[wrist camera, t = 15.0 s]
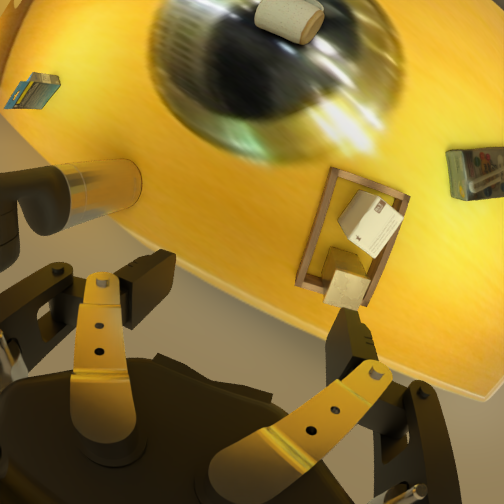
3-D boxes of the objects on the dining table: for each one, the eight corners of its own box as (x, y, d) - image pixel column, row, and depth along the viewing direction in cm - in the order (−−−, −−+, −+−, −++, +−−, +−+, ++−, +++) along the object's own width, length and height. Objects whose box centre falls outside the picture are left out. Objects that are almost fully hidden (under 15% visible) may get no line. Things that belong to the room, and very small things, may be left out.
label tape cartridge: (58, 74, 40) (19, 69, 28) (61, 85, 41) (21, 80, 29) (39, 99, 43) (1, 98, 31) (41, 110, 43) (3, 109, 32)
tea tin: (320, 272, 43) (323, 302, 33) (330, 245, 41) (336, 269, 32) (347, 280, 42) (356, 312, 33) (357, 254, 41) (370, 280, 31)
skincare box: (358, 236, 40) (375, 263, 29) (335, 219, 40) (345, 241, 28) (380, 203, 38) (407, 220, 26) (358, 186, 38) (378, 195, 26)
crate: (295, 276, 44) (294, 285, 41) (330, 166, 37) (332, 167, 34) (363, 296, 43) (366, 306, 39) (402, 193, 36) (410, 196, 33)
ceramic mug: (303, 54, 33) (303, 32, 25) (258, 34, 32) (248, 11, 25) (335, 13, 29) (338, -11, 22) (290, -6, 29) (286, -31, 22)
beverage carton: (442, 148, 33) (462, 147, 26) (516, 147, 28) (537, 147, 22) (449, 197, 35) (469, 204, 29) (520, 189, 30) (541, 194, 24)
